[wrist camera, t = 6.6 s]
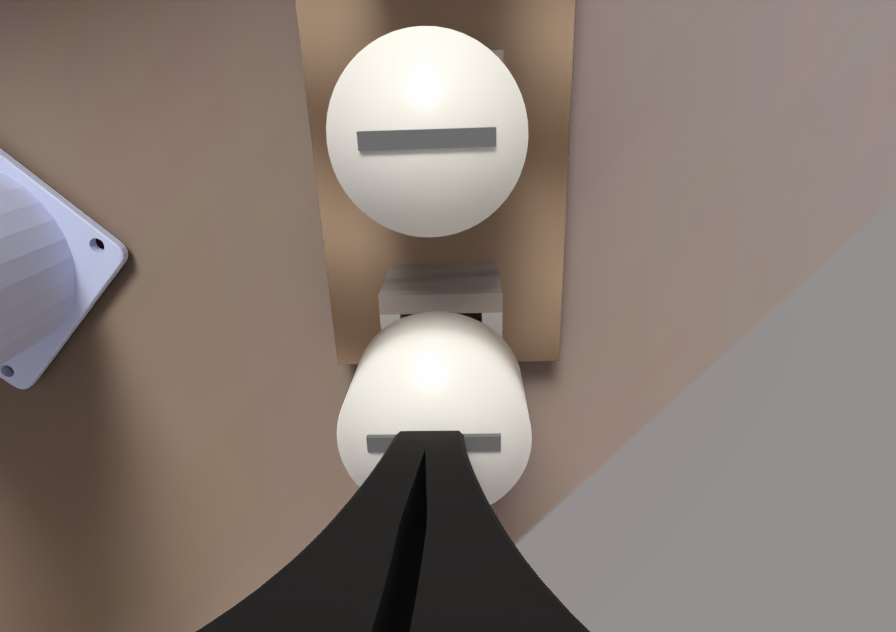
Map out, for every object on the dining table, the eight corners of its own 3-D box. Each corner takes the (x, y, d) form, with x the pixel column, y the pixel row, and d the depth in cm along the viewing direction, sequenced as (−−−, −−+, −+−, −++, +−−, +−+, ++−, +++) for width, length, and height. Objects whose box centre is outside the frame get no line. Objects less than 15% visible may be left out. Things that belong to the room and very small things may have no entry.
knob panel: (286, -192, 16) (223, -286, 12) (575, -208, 16) (613, -310, 12) (345, 346, 22) (318, 407, 18) (553, 343, 22) (573, 404, 18)
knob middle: (372, 195, 18) (336, 240, 13) (359, 44, 17) (313, 29, 12) (510, 192, 18) (527, 236, 13) (511, 38, 17) (531, 20, 12)
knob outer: (378, 402, 19) (345, 522, 14) (367, 275, 17) (324, 358, 12) (513, 400, 19) (530, 521, 14) (514, 272, 17) (535, 355, 12)
